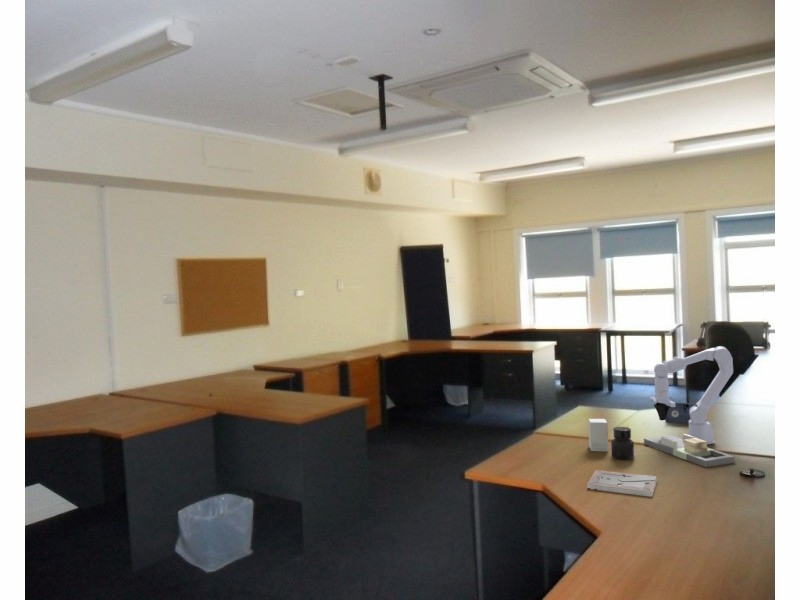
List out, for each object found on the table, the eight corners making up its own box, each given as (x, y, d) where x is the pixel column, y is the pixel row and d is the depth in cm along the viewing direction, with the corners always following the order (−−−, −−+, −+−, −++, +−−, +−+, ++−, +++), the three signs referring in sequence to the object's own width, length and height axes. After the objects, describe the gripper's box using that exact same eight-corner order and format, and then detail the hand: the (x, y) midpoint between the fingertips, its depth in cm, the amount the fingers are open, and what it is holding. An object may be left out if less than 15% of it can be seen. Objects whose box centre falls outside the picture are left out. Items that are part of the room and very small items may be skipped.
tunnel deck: (670, 440, 271) (669, 428, 271) (734, 462, 237) (734, 448, 237) (644, 444, 268) (643, 431, 267) (705, 467, 233) (705, 453, 233)
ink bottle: (634, 454, 253) (634, 426, 252) (635, 461, 245) (635, 431, 244) (610, 453, 256) (609, 425, 256) (610, 459, 248) (609, 430, 247)
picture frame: (657, 482, 220) (595, 475, 231) (656, 476, 220) (595, 469, 231) (652, 498, 206) (587, 490, 216) (652, 491, 206) (587, 483, 216)
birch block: (696, 447, 251) (695, 437, 251) (707, 451, 245) (706, 441, 245) (684, 449, 249) (683, 439, 249) (695, 453, 244) (694, 443, 243)
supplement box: (608, 451, 259) (607, 422, 258) (590, 451, 260) (589, 422, 260) (606, 446, 266) (605, 418, 266) (588, 446, 268) (587, 418, 267)
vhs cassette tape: (706, 424, 297) (705, 404, 296) (705, 425, 294) (705, 405, 294) (666, 420, 307) (665, 401, 306) (665, 422, 304) (664, 402, 304)
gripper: (643, 388, 277) (644, 417, 277) (665, 393, 263) (666, 424, 263) (656, 386, 279) (657, 415, 279) (679, 392, 265) (679, 422, 265)
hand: (662, 420), depth 271 cm, fingers closed
